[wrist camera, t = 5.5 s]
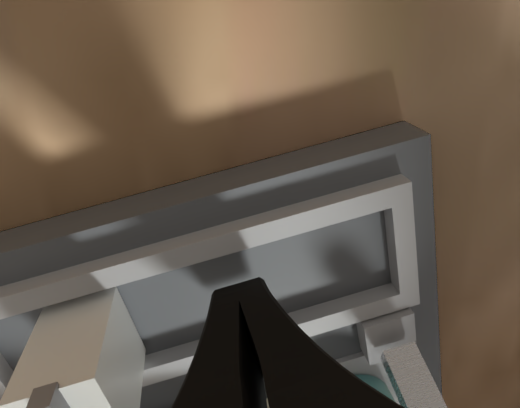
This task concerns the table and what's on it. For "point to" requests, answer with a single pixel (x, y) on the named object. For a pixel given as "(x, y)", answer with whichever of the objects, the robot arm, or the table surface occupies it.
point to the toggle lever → (411, 377)
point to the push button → (376, 384)
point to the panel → (250, 256)
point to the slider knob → (80, 357)
